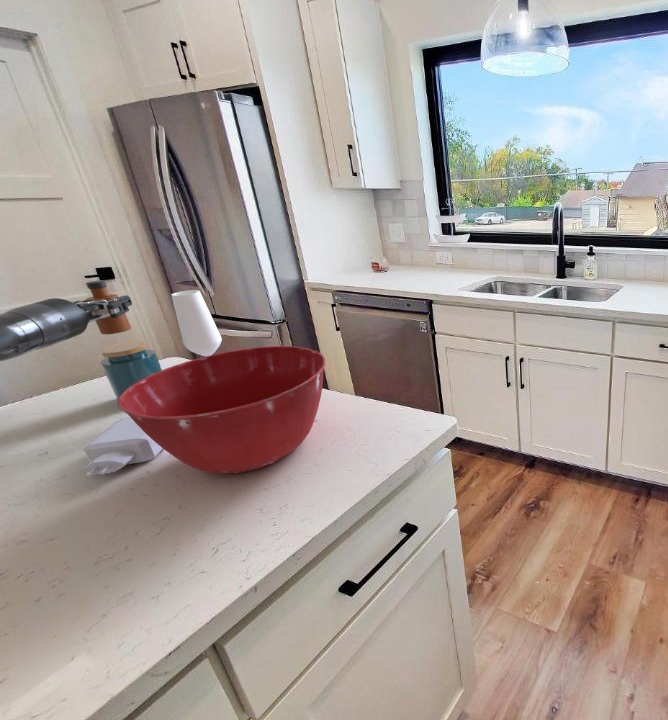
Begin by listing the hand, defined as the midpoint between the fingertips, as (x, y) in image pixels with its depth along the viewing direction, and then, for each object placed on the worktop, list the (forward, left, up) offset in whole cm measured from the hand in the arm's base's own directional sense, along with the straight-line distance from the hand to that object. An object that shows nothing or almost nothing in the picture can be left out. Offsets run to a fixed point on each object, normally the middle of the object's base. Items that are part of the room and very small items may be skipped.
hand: (114, 300), depth 90 cm
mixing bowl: (+35, -31, -22) cm, 52 cm away
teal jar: (0, -3, -22) cm, 22 cm away
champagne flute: (+17, -5, -22) cm, 28 cm away
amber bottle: (0, -3, -6) cm, 7 cm away
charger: (+14, -30, -22) cm, 40 cm away
